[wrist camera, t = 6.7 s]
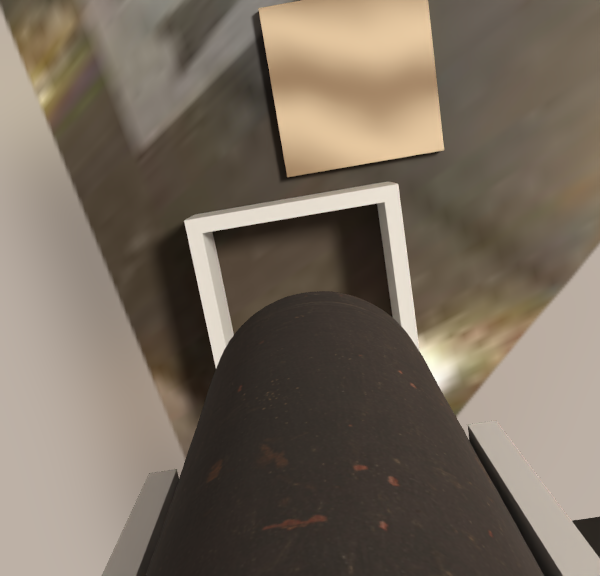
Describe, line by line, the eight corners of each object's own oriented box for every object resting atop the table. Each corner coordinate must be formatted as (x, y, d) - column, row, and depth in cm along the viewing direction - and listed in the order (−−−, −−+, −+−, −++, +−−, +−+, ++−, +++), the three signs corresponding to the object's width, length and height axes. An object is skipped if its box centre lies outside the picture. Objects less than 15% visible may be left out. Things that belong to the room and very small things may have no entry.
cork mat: (258, 10, 37) (258, 8, 37) (423, -20, 37) (425, -23, 36) (287, 176, 40) (287, 177, 39) (441, 150, 39) (444, 150, 39)
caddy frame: (194, 214, 40) (184, 220, 36) (388, 181, 40) (398, 184, 36) (232, 393, 43) (226, 416, 40) (412, 364, 43) (423, 385, 39)
